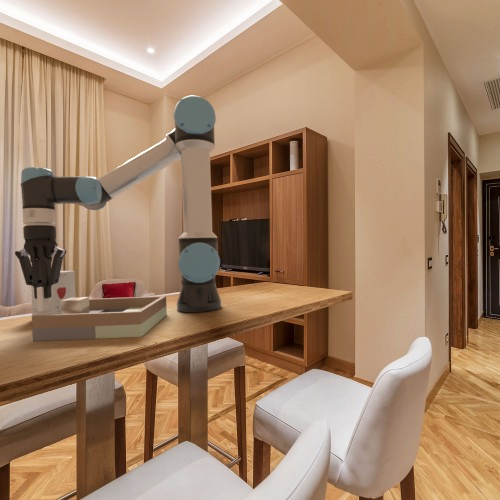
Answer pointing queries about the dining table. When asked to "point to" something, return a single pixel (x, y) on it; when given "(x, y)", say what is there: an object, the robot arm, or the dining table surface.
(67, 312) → the cream block
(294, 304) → the dining table surface
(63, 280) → the supplement box
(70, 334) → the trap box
